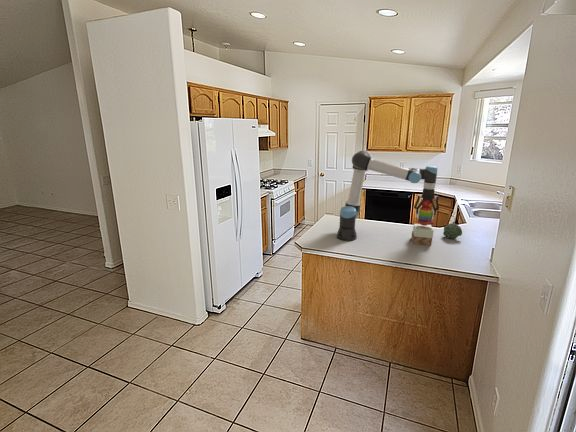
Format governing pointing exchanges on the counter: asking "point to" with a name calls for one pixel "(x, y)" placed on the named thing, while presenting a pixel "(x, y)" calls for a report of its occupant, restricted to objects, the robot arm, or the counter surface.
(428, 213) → the stacking bear
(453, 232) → the vegetable
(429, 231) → the upper slab
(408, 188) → the counter surface
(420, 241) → the lower slab
